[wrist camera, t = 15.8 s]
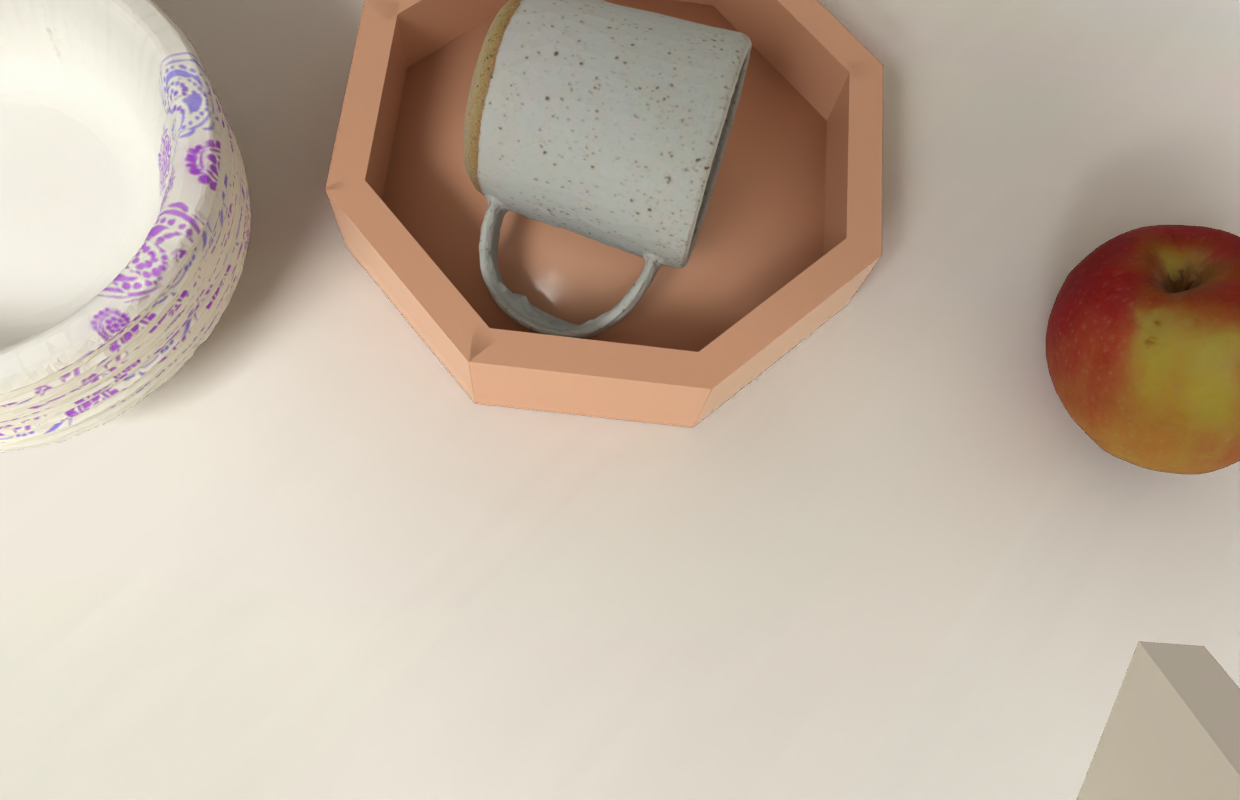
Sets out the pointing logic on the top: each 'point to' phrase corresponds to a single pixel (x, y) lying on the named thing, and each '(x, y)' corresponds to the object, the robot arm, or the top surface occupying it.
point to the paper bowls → (107, 212)
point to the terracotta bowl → (597, 273)
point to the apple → (1153, 347)
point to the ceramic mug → (599, 134)
